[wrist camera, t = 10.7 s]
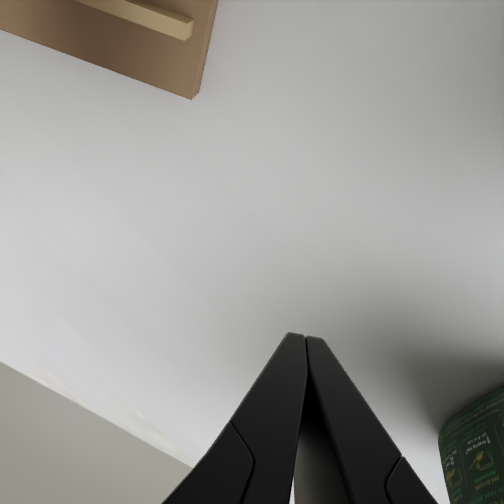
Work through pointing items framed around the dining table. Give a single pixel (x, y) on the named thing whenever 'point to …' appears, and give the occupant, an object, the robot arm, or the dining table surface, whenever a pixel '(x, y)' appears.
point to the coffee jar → (475, 452)
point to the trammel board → (123, 35)
